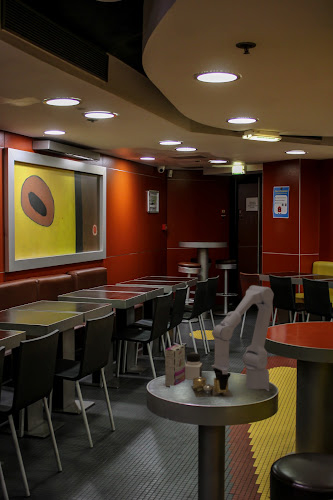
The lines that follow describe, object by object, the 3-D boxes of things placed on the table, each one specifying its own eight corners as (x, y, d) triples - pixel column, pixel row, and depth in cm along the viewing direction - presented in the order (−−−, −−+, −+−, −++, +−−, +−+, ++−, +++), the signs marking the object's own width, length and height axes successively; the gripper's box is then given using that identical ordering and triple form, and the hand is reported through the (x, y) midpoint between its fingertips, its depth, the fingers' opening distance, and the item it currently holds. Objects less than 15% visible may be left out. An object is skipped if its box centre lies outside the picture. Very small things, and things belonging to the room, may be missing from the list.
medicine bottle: (199, 382, 261) (200, 355, 261) (184, 381, 263) (184, 354, 262) (202, 378, 268) (202, 352, 268) (186, 377, 270) (186, 351, 269)
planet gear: (226, 388, 244) (226, 376, 244) (229, 392, 238) (229, 380, 238) (212, 389, 243) (212, 377, 243) (215, 393, 238) (215, 380, 237)
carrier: (225, 387, 253) (225, 373, 252) (233, 398, 237) (233, 383, 236) (190, 388, 251) (190, 374, 251) (196, 399, 235) (196, 384, 235)
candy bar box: (175, 380, 264) (175, 344, 263) (185, 382, 262) (185, 345, 261) (164, 386, 254) (164, 348, 253) (174, 388, 251) (175, 350, 251)
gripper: (209, 350, 247) (208, 382, 248) (215, 358, 233) (214, 392, 233) (225, 350, 248) (225, 382, 248) (232, 358, 233) (232, 392, 234)
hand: (221, 387), depth 241 cm, fingers closed on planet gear, 6 cm apart
